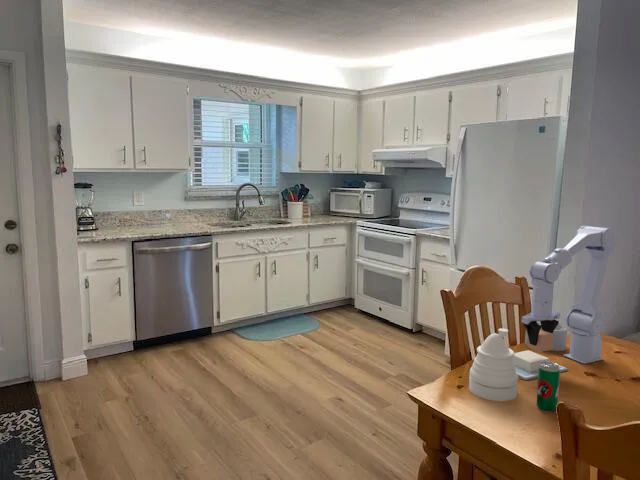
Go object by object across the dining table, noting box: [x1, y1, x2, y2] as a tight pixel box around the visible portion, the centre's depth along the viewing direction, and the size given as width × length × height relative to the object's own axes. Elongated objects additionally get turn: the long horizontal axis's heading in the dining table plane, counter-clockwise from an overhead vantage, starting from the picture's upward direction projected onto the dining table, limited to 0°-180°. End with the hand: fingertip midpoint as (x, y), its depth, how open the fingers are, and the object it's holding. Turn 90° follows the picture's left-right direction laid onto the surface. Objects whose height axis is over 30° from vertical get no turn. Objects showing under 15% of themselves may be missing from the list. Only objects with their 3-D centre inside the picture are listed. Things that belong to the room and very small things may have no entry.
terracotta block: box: [526, 329, 553, 353], centre depth 152 cm, size 5×5×5 cm
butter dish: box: [512, 349, 569, 381], centre depth 155 cm, size 18×14×4 cm
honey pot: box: [468, 328, 519, 402], centre depth 137 cm, size 13×13×18 cm
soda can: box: [535, 361, 561, 413], centre depth 127 cm, size 5×5×12 cm
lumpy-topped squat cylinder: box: [524, 321, 568, 352], centre depth 175 cm, size 10×13×9 cm
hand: (539, 343), depth 152 cm, fingers closed on terracotta block, 5 cm apart
